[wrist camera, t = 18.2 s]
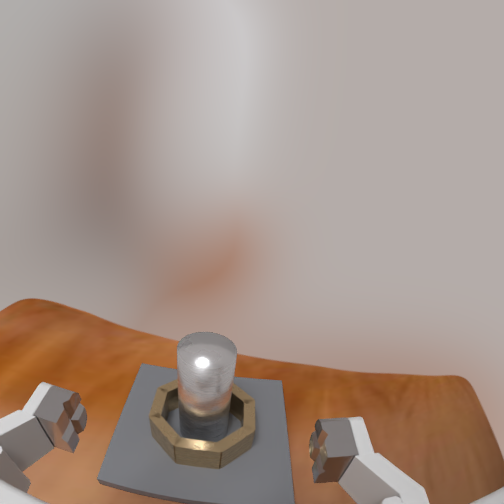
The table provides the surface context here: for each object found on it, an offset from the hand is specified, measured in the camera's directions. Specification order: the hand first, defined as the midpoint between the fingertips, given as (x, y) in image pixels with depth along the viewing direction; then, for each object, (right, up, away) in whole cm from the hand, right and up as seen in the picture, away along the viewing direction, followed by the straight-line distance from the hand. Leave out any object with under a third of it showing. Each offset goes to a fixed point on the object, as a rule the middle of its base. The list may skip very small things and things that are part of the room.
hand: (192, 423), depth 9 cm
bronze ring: (-3, -12, +17) cm, 21 cm away
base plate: (-3, -12, +17) cm, 21 cm away
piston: (-3, -11, +17) cm, 20 cm away
